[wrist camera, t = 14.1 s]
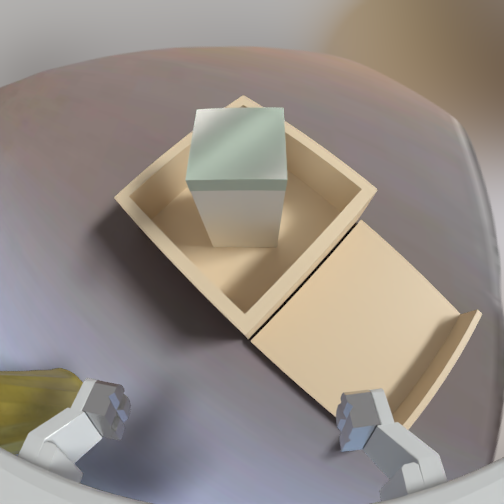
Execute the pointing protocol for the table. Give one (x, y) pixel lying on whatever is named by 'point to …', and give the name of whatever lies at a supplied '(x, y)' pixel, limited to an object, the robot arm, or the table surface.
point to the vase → (32, 402)
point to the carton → (239, 174)
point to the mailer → (313, 281)
